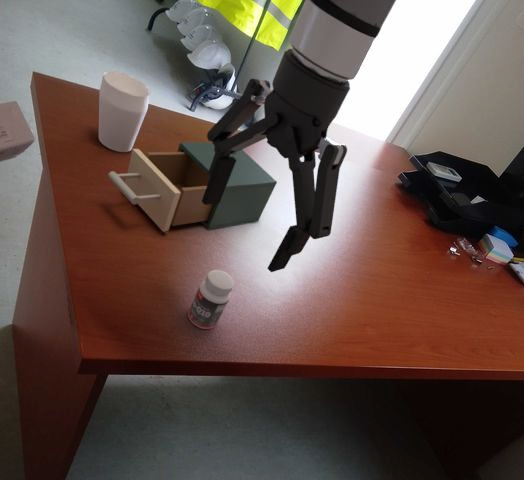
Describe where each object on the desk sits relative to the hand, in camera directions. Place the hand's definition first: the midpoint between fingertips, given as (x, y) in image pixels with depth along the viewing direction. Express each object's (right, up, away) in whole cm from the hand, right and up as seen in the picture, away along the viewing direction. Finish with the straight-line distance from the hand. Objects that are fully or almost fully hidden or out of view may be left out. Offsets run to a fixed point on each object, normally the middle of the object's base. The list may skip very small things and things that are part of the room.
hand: (242, 234), depth 60 cm
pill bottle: (-7, -10, +11) cm, 17 cm away
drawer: (-16, +11, +24) cm, 31 cm away
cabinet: (-7, +15, +34) cm, 38 cm away
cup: (-28, +27, +34) cm, 52 cm away
